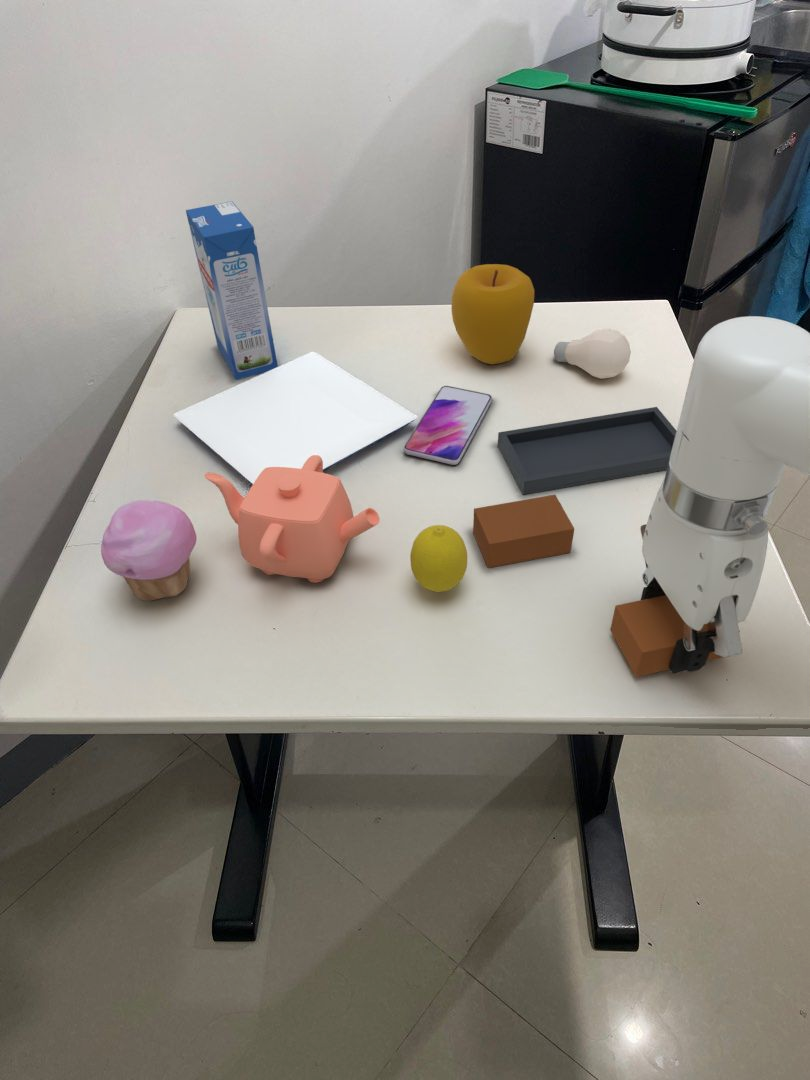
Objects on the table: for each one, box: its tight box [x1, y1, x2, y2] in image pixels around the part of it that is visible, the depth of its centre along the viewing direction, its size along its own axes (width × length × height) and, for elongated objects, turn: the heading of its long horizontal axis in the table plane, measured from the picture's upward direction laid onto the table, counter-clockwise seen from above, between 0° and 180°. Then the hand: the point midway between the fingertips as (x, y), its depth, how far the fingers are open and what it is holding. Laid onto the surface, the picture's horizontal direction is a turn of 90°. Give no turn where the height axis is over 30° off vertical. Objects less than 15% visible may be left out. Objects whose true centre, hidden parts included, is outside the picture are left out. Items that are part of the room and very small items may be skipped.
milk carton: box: [185, 201, 279, 381], centre depth 100 cm, size 10×6×20 cm, turn 25°
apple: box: [451, 263, 535, 365], centre depth 100 cm, size 11×11×13 cm
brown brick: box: [472, 494, 575, 569], centre depth 77 cm, size 6×9×4 cm, turn 102°
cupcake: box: [100, 499, 197, 602], centre depth 72 cm, size 9×9×10 cm
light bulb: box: [553, 328, 632, 380], centre depth 100 cm, size 7×7×11 cm
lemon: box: [409, 524, 468, 593], centre depth 71 cm, size 6×6×8 cm
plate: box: [173, 351, 418, 485], centre depth 93 cm, size 22×22×2 cm
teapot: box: [203, 455, 380, 584], centre depth 74 cm, size 14×12×10 cm
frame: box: [497, 406, 677, 496], centre depth 87 cm, size 10×21×2 cm, turn 102°
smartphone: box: [402, 385, 493, 466], centre depth 93 cm, size 7×1×15 cm
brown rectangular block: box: [609, 595, 740, 677], centre depth 66 cm, size 6×9×4 cm, turn 102°
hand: (669, 639), depth 67 cm, fingers closed on brown rectangular block, 5 cm apart
